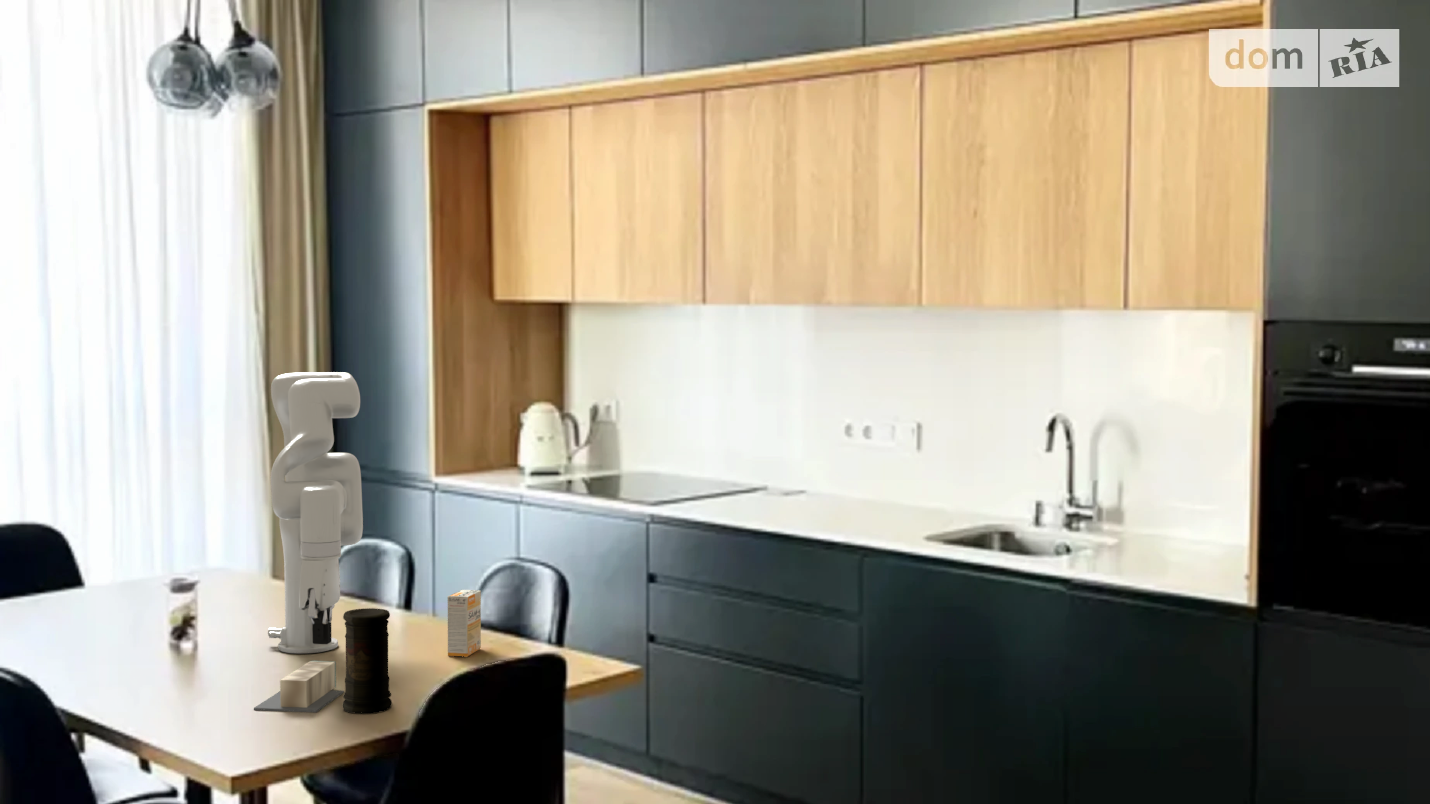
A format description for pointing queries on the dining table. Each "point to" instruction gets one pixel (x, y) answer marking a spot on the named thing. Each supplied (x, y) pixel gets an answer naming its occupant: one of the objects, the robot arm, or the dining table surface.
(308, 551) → the robot arm
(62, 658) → the dining table surface
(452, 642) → the supplement box
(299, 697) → the beige patterned box
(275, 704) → the mat
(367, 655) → the container
